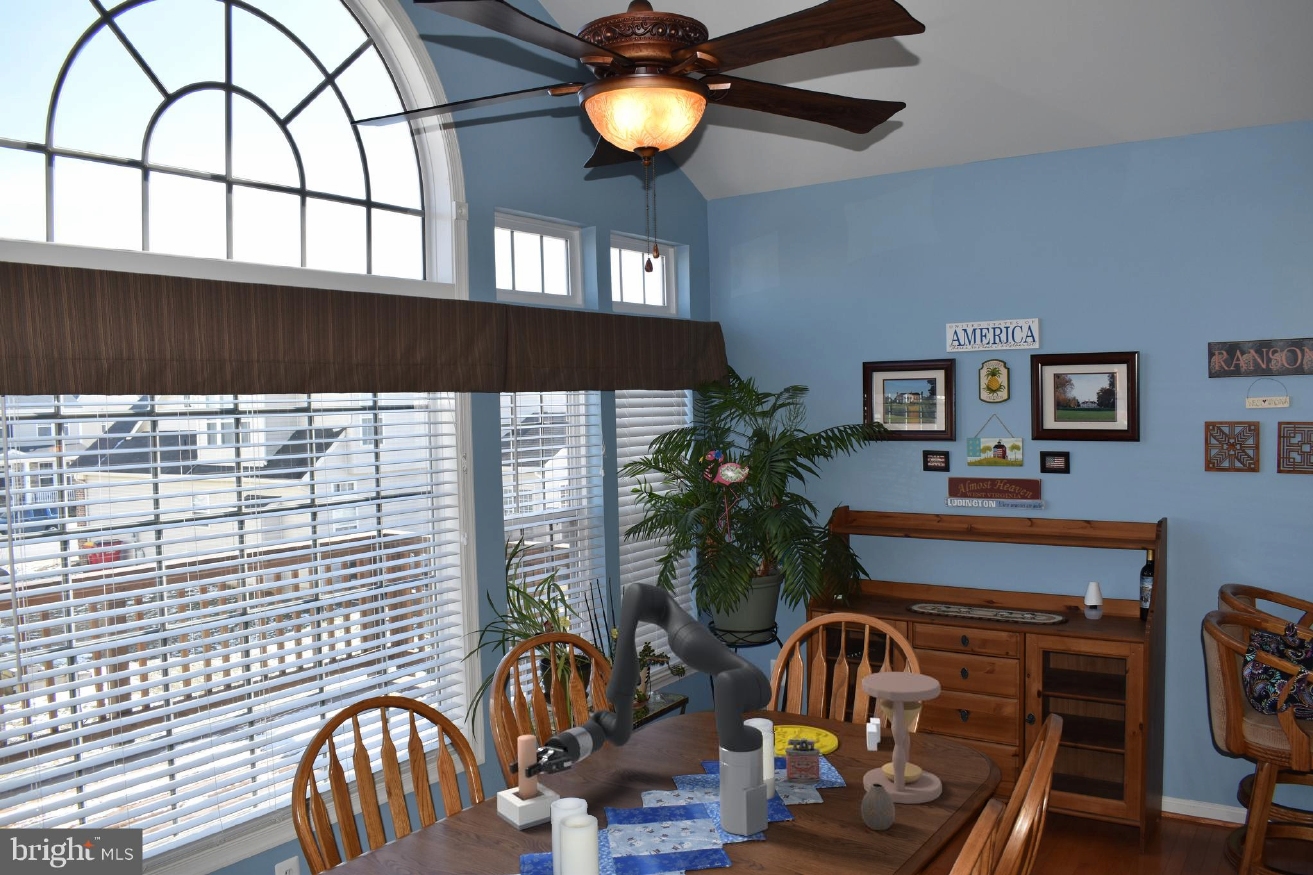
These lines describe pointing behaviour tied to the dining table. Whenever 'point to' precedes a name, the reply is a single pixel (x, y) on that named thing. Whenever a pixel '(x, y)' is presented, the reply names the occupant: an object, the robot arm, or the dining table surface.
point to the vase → (878, 808)
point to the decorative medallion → (821, 737)
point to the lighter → (802, 762)
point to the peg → (524, 760)
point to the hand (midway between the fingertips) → (519, 771)
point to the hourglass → (902, 735)
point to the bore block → (525, 807)
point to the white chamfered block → (873, 733)
